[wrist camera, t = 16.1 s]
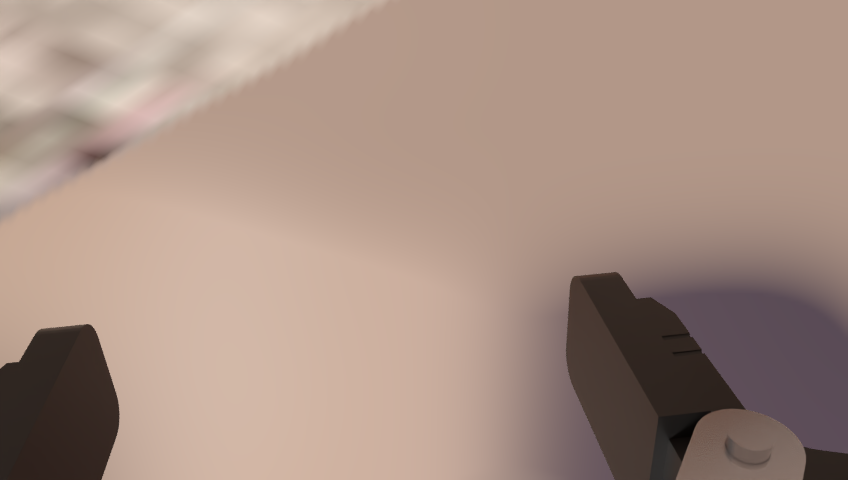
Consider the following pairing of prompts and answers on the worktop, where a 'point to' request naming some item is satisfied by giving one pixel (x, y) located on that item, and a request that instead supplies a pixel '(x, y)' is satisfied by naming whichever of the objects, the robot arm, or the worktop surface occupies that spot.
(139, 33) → the worktop surface
